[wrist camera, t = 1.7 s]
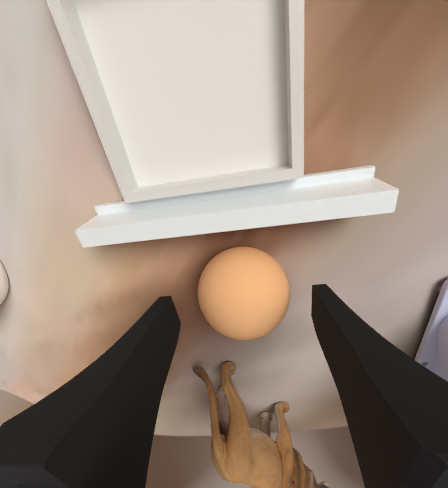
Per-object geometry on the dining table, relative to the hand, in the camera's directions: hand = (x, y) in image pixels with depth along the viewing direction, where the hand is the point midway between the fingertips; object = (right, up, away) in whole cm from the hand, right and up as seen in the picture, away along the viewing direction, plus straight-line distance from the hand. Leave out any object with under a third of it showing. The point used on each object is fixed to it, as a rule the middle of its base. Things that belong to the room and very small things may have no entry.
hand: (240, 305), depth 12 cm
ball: (0, +2, +3) cm, 4 cm away
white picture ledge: (-1, +5, +1) cm, 6 cm away
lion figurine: (+3, -12, +11) cm, 16 cm away
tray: (-2, +10, -1) cm, 11 cm away
